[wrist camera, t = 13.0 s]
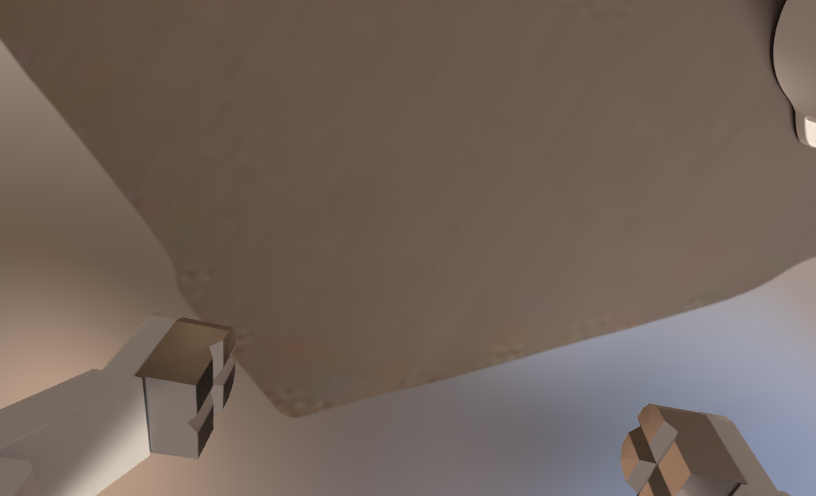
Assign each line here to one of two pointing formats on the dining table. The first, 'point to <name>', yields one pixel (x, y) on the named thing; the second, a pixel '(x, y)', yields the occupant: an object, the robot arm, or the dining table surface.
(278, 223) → the dining table surface
